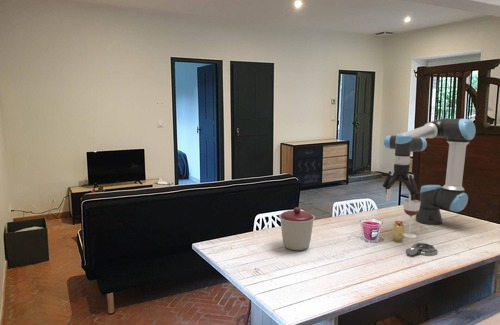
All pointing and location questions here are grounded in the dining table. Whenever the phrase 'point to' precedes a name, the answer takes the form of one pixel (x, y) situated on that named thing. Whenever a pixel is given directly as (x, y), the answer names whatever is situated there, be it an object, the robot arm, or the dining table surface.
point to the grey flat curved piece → (421, 249)
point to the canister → (296, 228)
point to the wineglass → (411, 214)
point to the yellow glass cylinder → (398, 231)
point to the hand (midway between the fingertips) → (399, 203)
